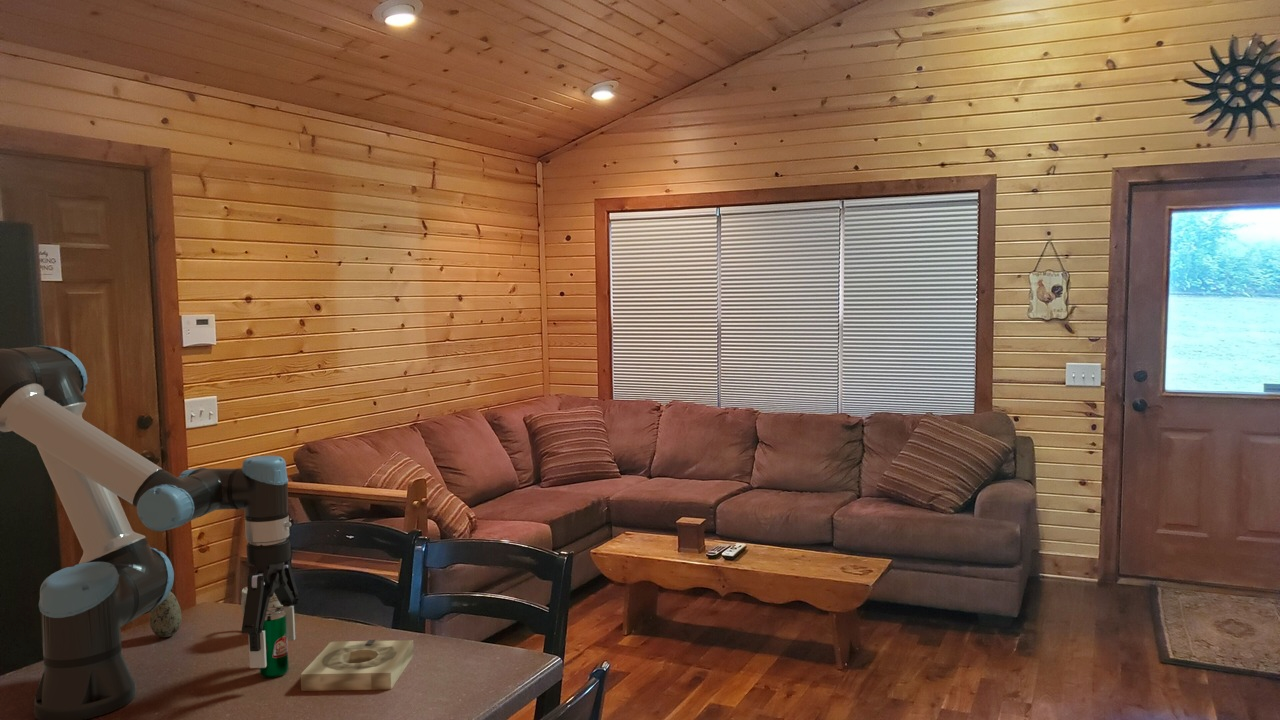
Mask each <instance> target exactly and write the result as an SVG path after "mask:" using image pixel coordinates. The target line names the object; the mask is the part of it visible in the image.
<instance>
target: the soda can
mask: <svg viewBox="0 0 1280 720" xmlns="http://www.w3.org/2000/svg"><path fill="white" fill-rule="evenodd" d="M262 631H265V640H266V661H267V666H266V667H265V668H258V669H259V674H260V675H261V677H262V678H265V679H275V678H279V677H281V676H284V675H286V674H287V673H288V671H289V668H290V667H289V663H290V662H289V643H288V642H289V640H288V639H287V617H286V613H285V612H284V608H281V607H271V608H267V613H266V617H265V621H264V625H263V630H262Z"/></svg>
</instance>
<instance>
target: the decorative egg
mask: <svg viewBox="0 0 1280 720" xmlns="http://www.w3.org/2000/svg"><path fill="white" fill-rule="evenodd" d="M149 613H150V614H149V626H150V629H151V631H152V632H153V634H154V635H156V636H158V637H160V638H168V637H169V638H170V637H172V636H174V635H175V634H176V633H177V632H178V631H179V629H180V627H181V624H182V619H183V618H182V617H183V616H182V609H181V607H180V603H179V601H178V599H177V597H176V596H175V594H174V593H173V592H172V591H170V593H169V595H168V596H167V598H166V599H165V600H164V601H163V602H162V603H161V604H159V605H158V606H157V607H156V608H154V609H153V610H152V611H151V612H149Z"/></svg>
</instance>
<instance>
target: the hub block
mask: <svg viewBox="0 0 1280 720" xmlns="http://www.w3.org/2000/svg"><path fill="white" fill-rule="evenodd" d="M414 655H415V653H414V640H413V639H407V640H406V639H404V640H399V639H398V640H376V639H368V640H357V641H356V640H349V641H346V640H345V641H330V642H329V643H328V644H327V646H325V647H324V648H323V650H322V651H321V652H320V653H319V654H318V655H317V656H316V657H315V658H314V659H313V661H311V662H310V664H309V665H308V666H306V668H305V669H304V670H303V671H302V672H301V674H300V688H301V691H303V692H306V691H307V692H308V691H311V692H312V691H367V690H369V691H371V690H375V691H377V690H392V689H393V687H394V686H395V684H396V683H397V681H398V679H399V678H400V677H401V676H402V674H403V672H404V671H405V669H406V668H407V666H408V665H409V663H410V661H411V660H412V659H413V657H414ZM301 691H300V692H301Z"/></svg>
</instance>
